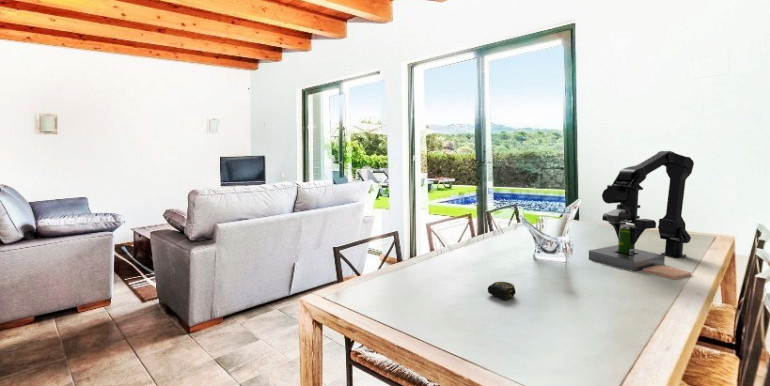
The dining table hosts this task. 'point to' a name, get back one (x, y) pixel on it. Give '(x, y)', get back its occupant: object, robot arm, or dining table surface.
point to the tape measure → (502, 290)
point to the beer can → (625, 240)
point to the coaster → (667, 271)
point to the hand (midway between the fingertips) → (626, 242)
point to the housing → (626, 258)
